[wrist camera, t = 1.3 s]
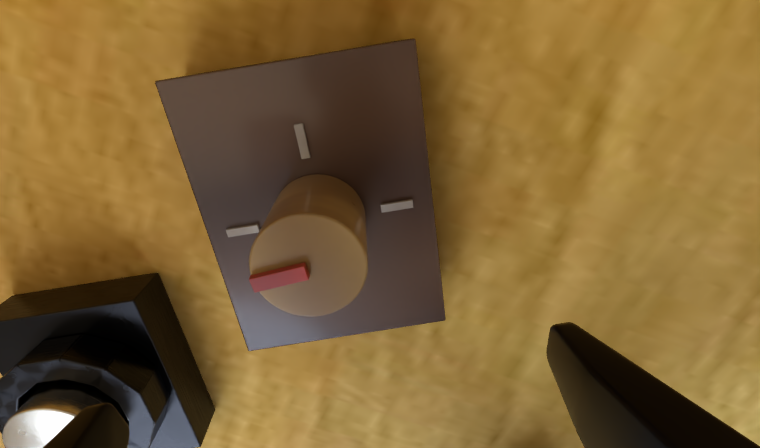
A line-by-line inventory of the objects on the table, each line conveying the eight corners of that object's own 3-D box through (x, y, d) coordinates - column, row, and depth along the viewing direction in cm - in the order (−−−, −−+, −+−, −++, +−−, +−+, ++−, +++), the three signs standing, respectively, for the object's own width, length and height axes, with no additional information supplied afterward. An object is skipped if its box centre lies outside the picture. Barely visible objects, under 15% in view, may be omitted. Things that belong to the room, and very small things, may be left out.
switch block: (215, 409, 26) (189, 477, 22) (91, 428, 26) (41, 499, 22) (158, 272, 22) (113, 323, 18) (12, 295, 22) (-67, 352, 18)
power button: (139, 438, 21) (121, 470, 20) (55, 451, 21) (30, 484, 20) (104, 372, 20) (81, 402, 18) (12, 387, 20) (-19, 417, 18)
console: (435, 288, 23) (446, 322, 21) (261, 316, 24) (247, 353, 21) (406, 39, 18) (416, 38, 15) (184, 76, 18) (152, 81, 16)
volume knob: (352, 163, 17) (350, 203, 13) (375, 247, 19) (380, 308, 14) (260, 186, 17) (227, 233, 13) (290, 267, 19) (270, 333, 15)
